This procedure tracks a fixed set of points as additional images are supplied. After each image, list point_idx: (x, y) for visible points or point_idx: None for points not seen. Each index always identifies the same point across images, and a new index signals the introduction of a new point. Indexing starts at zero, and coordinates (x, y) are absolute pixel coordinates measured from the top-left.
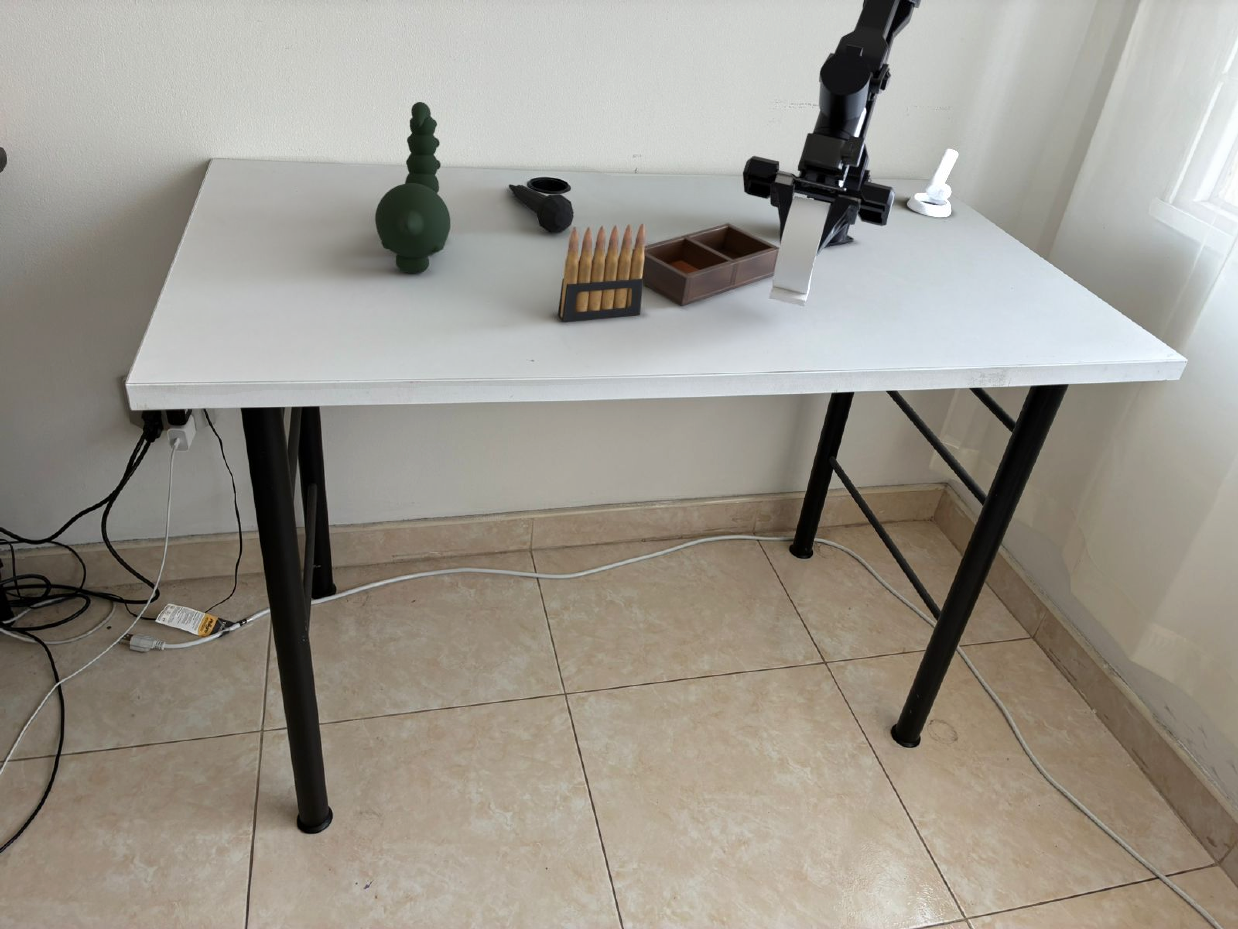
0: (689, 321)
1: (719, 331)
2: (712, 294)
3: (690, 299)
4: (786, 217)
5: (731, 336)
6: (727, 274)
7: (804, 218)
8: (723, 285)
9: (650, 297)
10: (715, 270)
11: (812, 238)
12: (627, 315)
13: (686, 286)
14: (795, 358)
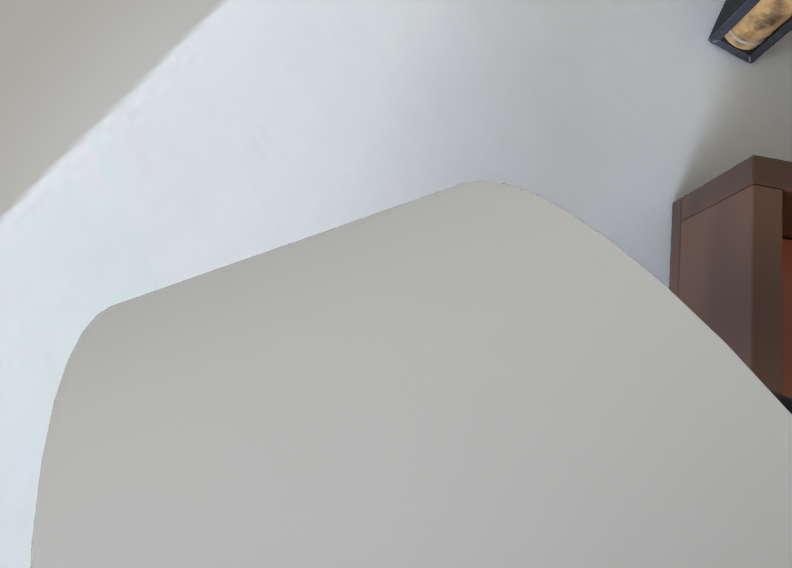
0: (580, 130)
1: (467, 148)
2: None
3: (681, 239)
4: None
5: (416, 149)
6: None
7: (404, 377)
8: None
9: None
10: (745, 352)
11: (173, 299)
12: (725, 3)
13: (724, 178)
14: (153, 186)
